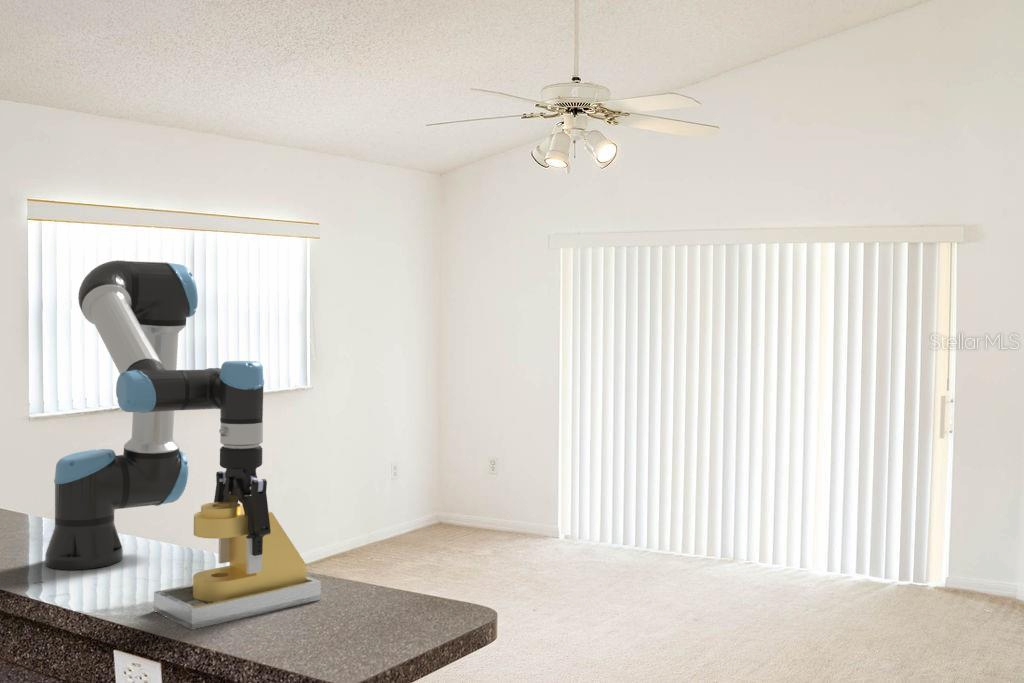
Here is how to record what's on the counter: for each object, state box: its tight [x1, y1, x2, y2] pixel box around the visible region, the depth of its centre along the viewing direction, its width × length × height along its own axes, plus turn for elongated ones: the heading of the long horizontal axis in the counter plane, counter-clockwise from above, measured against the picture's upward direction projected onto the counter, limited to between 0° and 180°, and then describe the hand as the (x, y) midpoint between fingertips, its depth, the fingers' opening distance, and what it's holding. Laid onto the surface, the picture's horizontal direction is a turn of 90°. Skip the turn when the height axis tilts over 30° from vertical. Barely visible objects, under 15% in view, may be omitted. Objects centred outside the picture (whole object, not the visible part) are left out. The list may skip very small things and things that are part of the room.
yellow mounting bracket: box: [192, 501, 307, 601], centre depth 177 cm, size 20×9×16 cm, turn 137°
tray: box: [153, 575, 322, 631], centre depth 176 cm, size 14×26×4 cm, turn 136°
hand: (239, 567), depth 176 cm, fingers closed on yellow mounting bracket, 9 cm apart
